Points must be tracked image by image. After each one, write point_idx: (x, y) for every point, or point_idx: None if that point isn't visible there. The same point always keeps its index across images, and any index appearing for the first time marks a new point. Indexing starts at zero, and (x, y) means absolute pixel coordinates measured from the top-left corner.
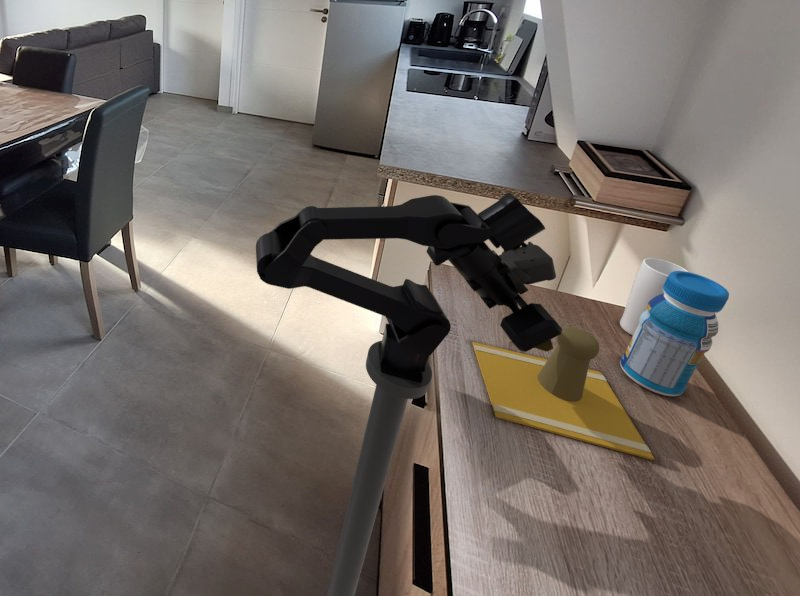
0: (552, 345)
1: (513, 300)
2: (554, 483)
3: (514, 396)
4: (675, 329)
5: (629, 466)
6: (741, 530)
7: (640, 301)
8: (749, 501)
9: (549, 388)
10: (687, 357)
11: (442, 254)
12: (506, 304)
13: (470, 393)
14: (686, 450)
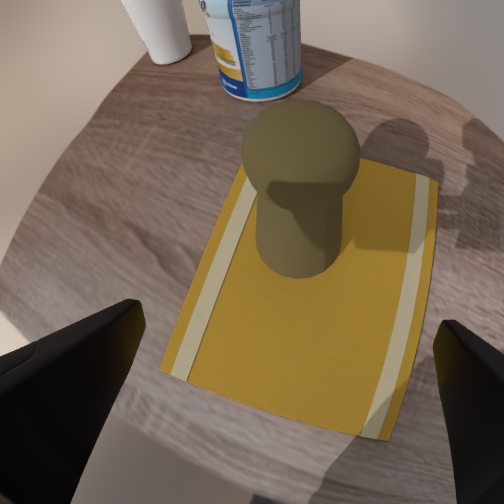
0: (471, 332)
1: (115, 330)
2: None
3: (337, 369)
4: None
5: (457, 231)
6: (497, 163)
7: (155, 14)
8: (455, 120)
9: (317, 271)
10: (298, 11)
11: None
12: (127, 364)
13: (323, 466)
14: (401, 125)
